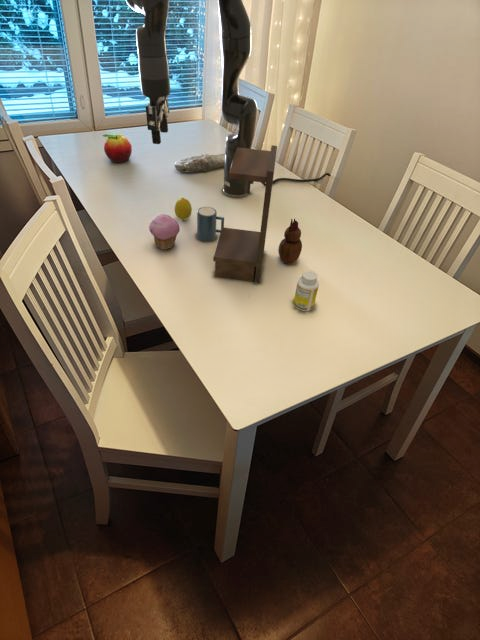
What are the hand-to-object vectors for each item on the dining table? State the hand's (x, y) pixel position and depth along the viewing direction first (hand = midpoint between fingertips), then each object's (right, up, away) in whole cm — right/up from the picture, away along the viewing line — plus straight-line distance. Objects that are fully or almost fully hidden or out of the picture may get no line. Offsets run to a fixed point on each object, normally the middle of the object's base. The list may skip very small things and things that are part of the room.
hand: (160, 137), depth 124 cm
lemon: (+3, -18, +23) cm, 30 cm away
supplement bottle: (+40, -48, -5) cm, 62 cm away
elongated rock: (+12, +12, +57) cm, 59 cm away
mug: (+13, -25, +16) cm, 33 cm away
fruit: (-27, +14, +55) cm, 62 cm away
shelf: (+22, -35, +7) cm, 42 cm away
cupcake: (-1, -29, +11) cm, 31 cm away
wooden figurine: (+37, -34, +10) cm, 51 cm away
